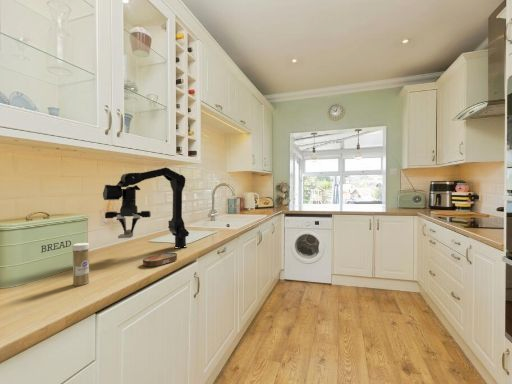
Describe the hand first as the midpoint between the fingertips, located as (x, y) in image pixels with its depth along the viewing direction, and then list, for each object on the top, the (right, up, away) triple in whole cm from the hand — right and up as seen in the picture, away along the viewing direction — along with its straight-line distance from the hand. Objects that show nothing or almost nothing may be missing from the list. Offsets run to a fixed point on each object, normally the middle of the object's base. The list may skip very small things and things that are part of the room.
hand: (128, 232), depth 119 cm
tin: (+15, -10, -7) cm, 20 cm away
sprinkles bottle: (+1, -12, -34) cm, 36 cm away
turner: (+1, -1, -3) cm, 3 cm away
